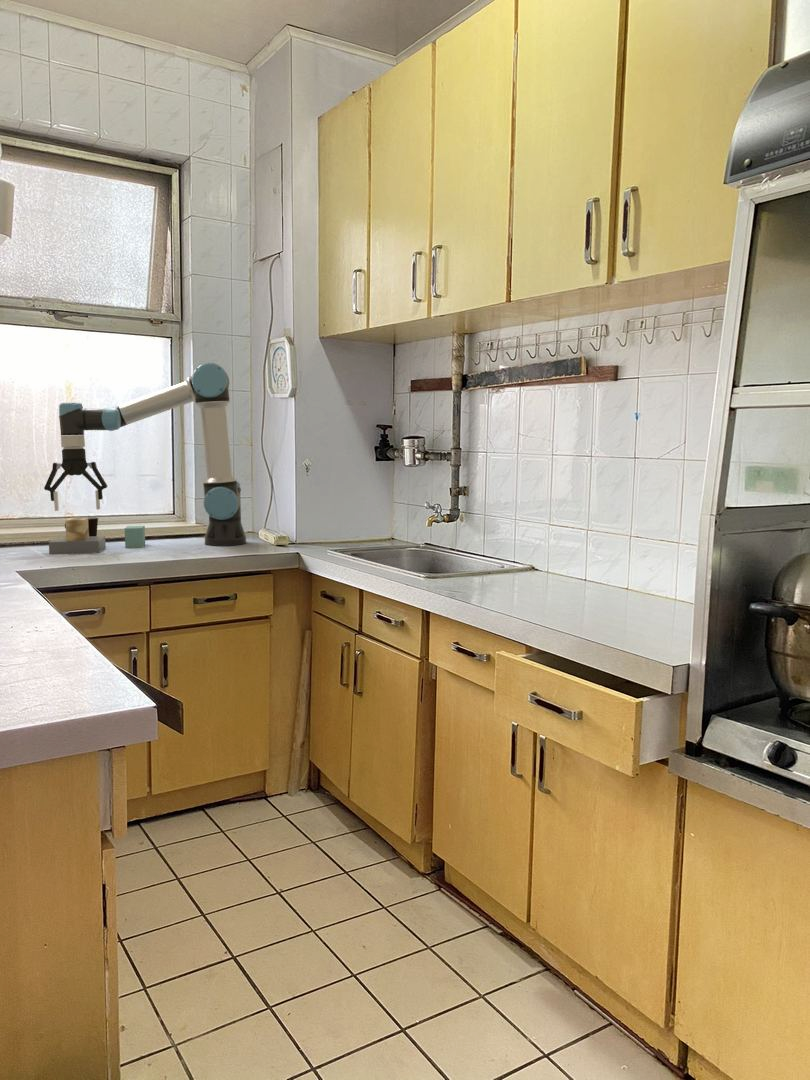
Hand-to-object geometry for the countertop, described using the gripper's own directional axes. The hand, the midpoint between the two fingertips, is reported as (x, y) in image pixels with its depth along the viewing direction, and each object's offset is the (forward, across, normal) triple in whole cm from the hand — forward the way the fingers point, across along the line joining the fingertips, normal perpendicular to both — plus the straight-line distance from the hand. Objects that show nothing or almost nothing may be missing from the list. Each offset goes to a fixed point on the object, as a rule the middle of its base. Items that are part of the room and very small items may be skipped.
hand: (77, 509), depth 285 cm
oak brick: (+10, +1, 0) cm, 10 cm away
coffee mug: (+14, +1, -15) cm, 21 cm away
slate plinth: (+14, +1, 0) cm, 14 cm away
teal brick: (+15, -17, -9) cm, 24 cm away
